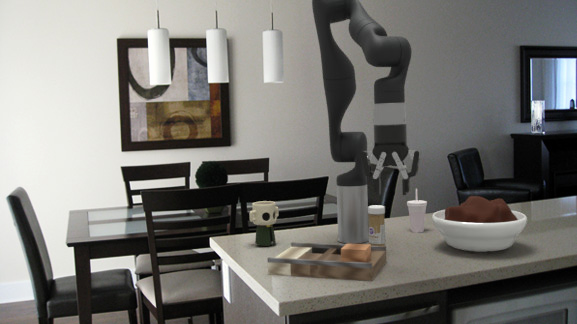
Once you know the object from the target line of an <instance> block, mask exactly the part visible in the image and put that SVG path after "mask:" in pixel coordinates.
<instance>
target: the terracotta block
mask: <svg viewBox="0 0 577 324" xmlns="http://www.w3.org/2000/svg"><path fill="white" fill-rule="evenodd" d="M344 245H345V246H344V247H342V248H341V261H345V262H363V263H368V261H369V260H370V259H371V244H369V243H367V244H364V243H355V244H350V243H345V244H344Z"/></svg>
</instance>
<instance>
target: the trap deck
mask: <svg viewBox="0 0 577 324" xmlns="http://www.w3.org/2000/svg"><path fill="white" fill-rule="evenodd" d="M345 245H346V244H344V243H342V244H340V243H318V242H317V243H315V242H297V241H296V242H291V243H290V247H289V248H287V249H285V250H283V252H281V253H280V254H278V255H276V256H275V257H270V256H269V257H267V275H272V274H273V276H275V275H276V276H291V277H302V278H303V277H307V278H317V279H318V278H321V279H335V280H337V279H338V280H349V281H350V280H352V281H364V282H365V281H366V282H372V281H373V280H374V279H375V278H376V276H377V275H378V273H379V272H380V271H381V270H382V268H383V267H384V265H385V264H386V263H387V246H386V245H385V246H371V259H370V260H369V261H368V263H363V262H345V261H341V248H342V247H344V246H345Z"/></svg>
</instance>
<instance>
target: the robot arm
mask: <svg viewBox="0 0 577 324" xmlns="http://www.w3.org/2000/svg"><path fill="white" fill-rule="evenodd" d="M311 5H312V7H311V8H312V13H313V15H312V16H313V20H314V24H315V29H316V34H317V40H318V45H319V46H318V47H319V51H320V52H319V53H320V61H321V70H322V71H321V72H322V81H323V89H324V96H325V101H326V109H327V110H326V111H327V116H328V132H329V133H328V135H329V137H328V138H329V148H330V149H329V151H330V155H331V158H332V160H333V161H334V162H336V163H354V167H353V168H351V170H349V171H345V172H344V173H341V174H339V175H337V176H336V204H337V205H336V207H337V208H336V209H337V211H336V213H337V236H338V237H337V238H338V242H339V243H342V244H347V243H349V244H364V243H367V242H369V215H368V214H369V213H368V207H369V206H368V205H369V204H368V202H369V201H368V177H370V178H371V179H373V193H375V194H376V195H377V196H380V195H381V194H382V178H381V174H382V172H383V170H384V168H385V167H397V168H398V171H399V173H400V174H401V176H402V179H401V180H402V182H401V183H402V184H401V185H402V186H401V187H402V195H403V196H406V195H408V193H409V192H410V191H411V188H410V179H411V178H413V177H416V176H417V175H418V173H419V172H418V171H419V166H420V165H419V164H420V159H421V154H422V153H421V150H419V149H418V150H417V149H416V150H414V149H409V147H408V141H407V140H408V139H407V134H408V133H407V110H406V103H405V84H406V80H407V76H408V75H407V74H408V71H409V67H410V64H411V60H412V46H411V43H410V42H409V40H408V39H407V38H406V37H404V36H400V35H399V36H394V35H393V36H388V33H387V32H388V31H387V30H386V29H385V28H384V27H383V26H382V25H381V24H379V22H377V21H376V20H375V19H374V18H373V17H372V16H370V15H369V13H368V12H367V11H366V9H365V8H364V6H363V4H362V3H361V2H360V1H359V0H311ZM347 20H349V22H348V33H349V35H350V37H351V39H352V40H353V42H354V43H355V44H357V45H358V46H359V47H360V48H361V51H362V53H363V55H364V58H365V61H366V62H367V64H369V65H370V66H372V67H373V68H374V67H375V68H390V71H389V74H388V75H387V76H385V77H381V78H378V79H376V80H375V81H374V83H373V99H374V100H373V101H374V108H373V119H372V122H373V147H372V150H368V138H367V135H366V133H365V132H363V131H342V129H341V128H342V121H343V118H344V115H345V113H346V112H347V109H348V108H349V106H350V105H351V103H352V101H353V99H354V97H355V95H356V91H357V82H356V81H357V80H356V73H355V72H356V71H355V67H354V65H353V62H352V61H351V59H349V57H348V56H347V54H346V53H345V52H344V51H343V50H342V49H341V48H340V46H339V45H338V43H337V42H336V40H335V39H334V36H333V32H332V29H331V24H336V23H342V22H344V21H347ZM408 155H409V158H410V160H412V163H411V164H412V165H411V169H410V170H411V171H408V170H409V169H408V168H407V165H406V163H405V161H404V160H405V159H406V158H407V156H408ZM373 156H374V157H375V158H376V160H377V164H376V167H375V170H374V171H373V168H372V165H371V160H372V157H373Z"/></svg>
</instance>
